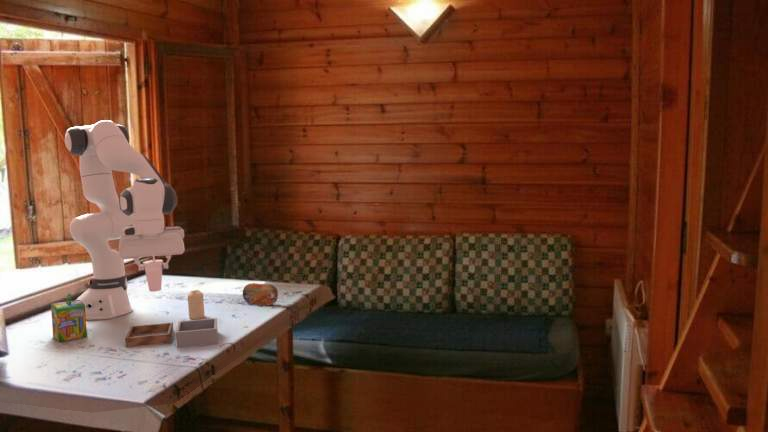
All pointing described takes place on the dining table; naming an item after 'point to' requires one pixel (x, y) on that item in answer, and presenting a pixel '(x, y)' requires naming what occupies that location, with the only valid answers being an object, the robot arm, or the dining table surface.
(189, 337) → the bin
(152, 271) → the smoothie
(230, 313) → the dining table surface
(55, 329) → the chalk box
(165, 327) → the frame
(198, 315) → the candle
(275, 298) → the tin
